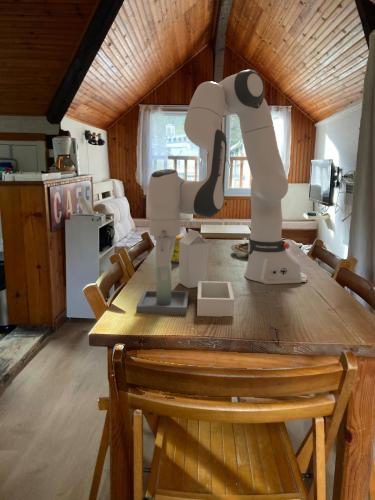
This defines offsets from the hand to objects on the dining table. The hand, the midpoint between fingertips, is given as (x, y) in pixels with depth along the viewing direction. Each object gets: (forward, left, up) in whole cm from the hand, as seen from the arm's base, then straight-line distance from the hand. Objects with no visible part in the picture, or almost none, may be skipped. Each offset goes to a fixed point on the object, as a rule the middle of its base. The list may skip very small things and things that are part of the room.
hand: (165, 274), depth 114 cm
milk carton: (-7, -20, -10) cm, 24 cm away
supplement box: (+1, -51, -10) cm, 52 cm away
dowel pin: (+1, 0, -9) cm, 9 cm away
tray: (+1, 0, -9) cm, 9 cm away
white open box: (-14, 0, -9) cm, 17 cm away
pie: (-34, -66, -10) cm, 75 cm away
